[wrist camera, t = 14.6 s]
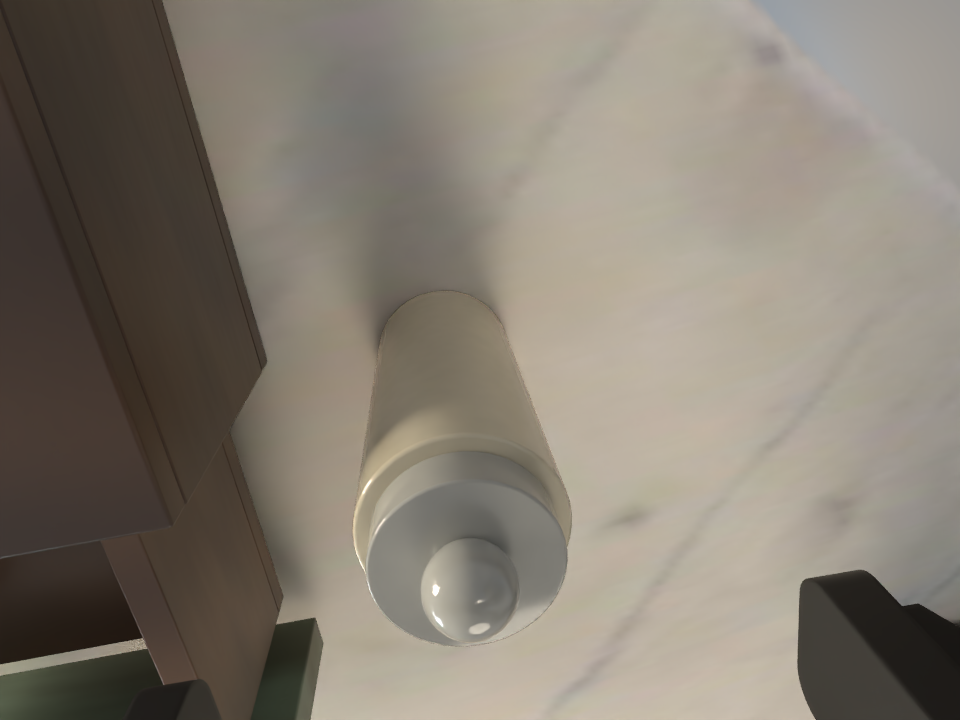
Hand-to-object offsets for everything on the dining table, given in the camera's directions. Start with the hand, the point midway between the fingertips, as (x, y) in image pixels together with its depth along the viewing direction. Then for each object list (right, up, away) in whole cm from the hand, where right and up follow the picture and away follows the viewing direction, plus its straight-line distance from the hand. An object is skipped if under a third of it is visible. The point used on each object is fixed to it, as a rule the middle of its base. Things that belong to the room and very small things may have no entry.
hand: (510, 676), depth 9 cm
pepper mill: (-2, +5, +12) cm, 13 cm away
